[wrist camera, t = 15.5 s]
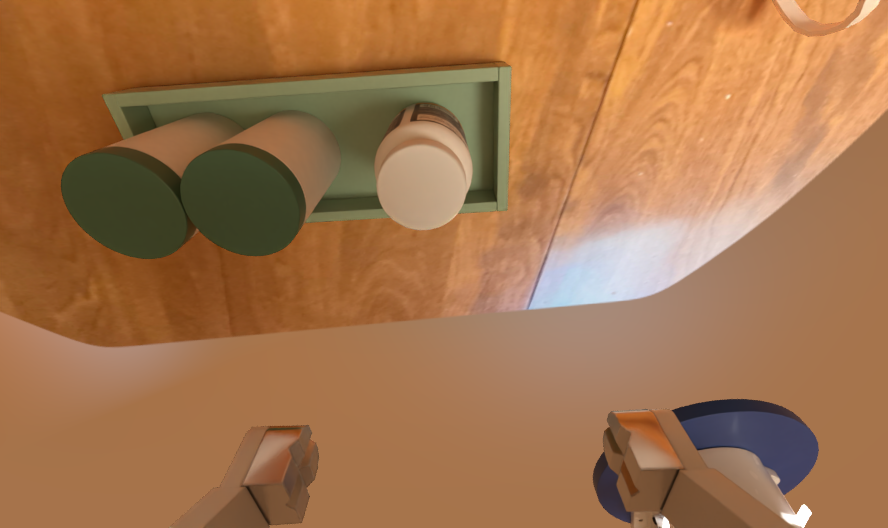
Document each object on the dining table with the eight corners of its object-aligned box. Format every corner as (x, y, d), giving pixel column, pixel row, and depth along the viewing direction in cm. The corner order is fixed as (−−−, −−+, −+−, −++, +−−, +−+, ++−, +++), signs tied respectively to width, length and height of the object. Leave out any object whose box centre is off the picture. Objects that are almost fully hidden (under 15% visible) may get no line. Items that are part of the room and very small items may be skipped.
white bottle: (345, 191, 30) (309, 256, 22) (269, 190, 30) (201, 256, 21) (335, 110, 27) (287, 149, 18) (249, 109, 27) (161, 148, 18)
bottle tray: (504, 61, 26) (511, 65, 23) (502, 195, 31) (507, 211, 28) (133, 87, 26) (100, 94, 24) (190, 214, 32) (168, 231, 29)
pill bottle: (413, 191, 30) (403, 256, 22) (372, 125, 27) (342, 170, 19) (478, 156, 29) (494, 211, 20) (441, 83, 26) (442, 111, 18)
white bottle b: (271, 190, 30) (204, 256, 21) (195, 195, 30) (100, 262, 22) (245, 109, 27) (155, 149, 18) (161, 115, 27) (33, 156, 18)
